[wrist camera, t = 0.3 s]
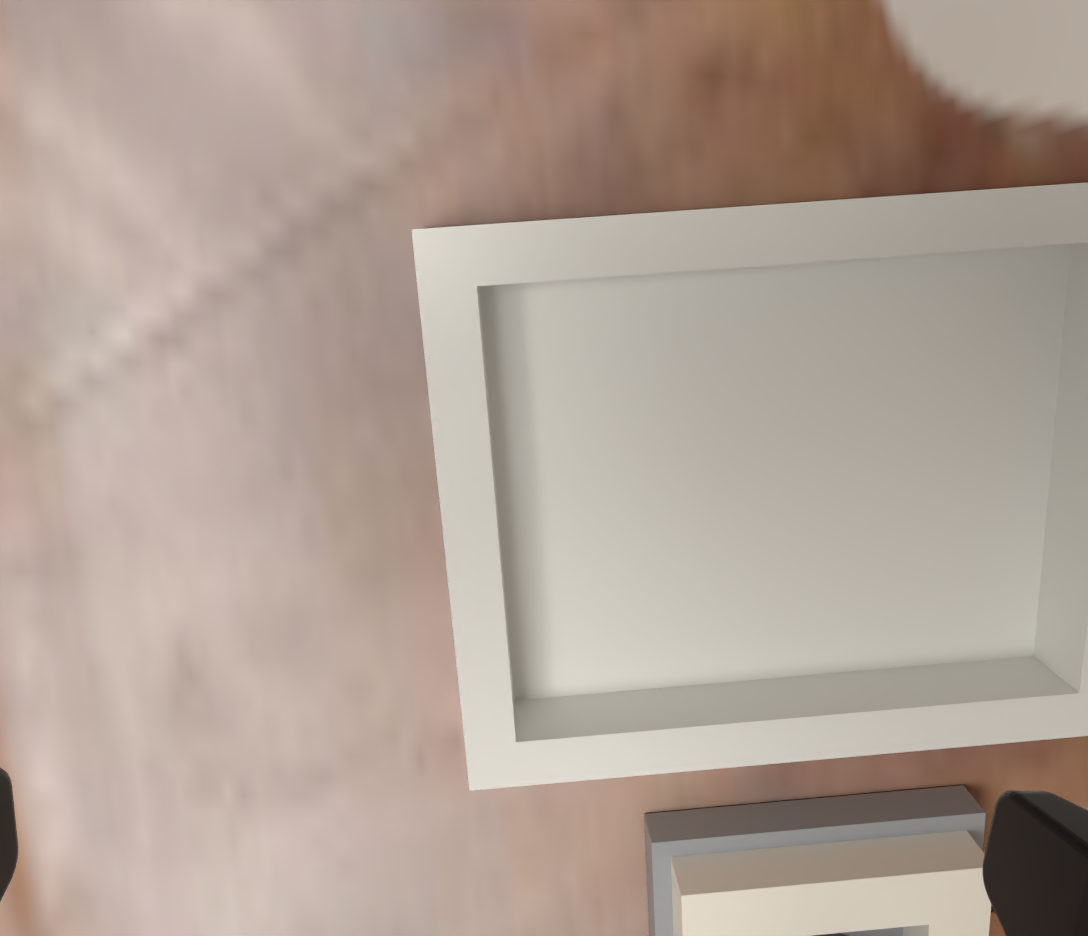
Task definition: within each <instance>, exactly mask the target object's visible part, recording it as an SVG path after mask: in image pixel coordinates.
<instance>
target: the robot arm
mask: <svg viewBox="0 0 1088 936" xmlns="http://www.w3.org/2000/svg"><path fill="white" fill-rule="evenodd" d="M17 858H18V840H17V830H16V820H15V811H14V801H13V791H12V784H11V780H10V777H9V775H8V773H7V772H6V771H4V770H3V769H2V768H0V901H1V899H2V897H3V895H4V893H5V891H6V889H7V887H8V885H9V883H10V881H11V879H12V876H13V874H14V871H15V868H16V863H17ZM983 882H984V886H985V890H986V893H987V895H988V898H989V900H990V902H991V904H992V907H993V909H994V911H995V913H996V915H997V918H998V920H999V922H1000V924H1001V926H1002V929H1003V931H1004V933H1005V935H1006V936H1088V810H1086V809H1084V808H1082V807H1080V806H1077V805H1075V804H1073V803H1071V802H1069V801H1067V800H1065V799H1063V798H1061V797H1059V796H1057V795H1055V794H1053V793H1050V792H1045V791H1019V790H1010V791H1006V792H1005V793H1003V794H1002V795H1000V797H999V798H998V800H997V802H996V805H995V809H994V813H993V818H992V823H991V827H990V832H989V837H988V841H987V846H986V851H985V855H984V860H983Z"/></svg>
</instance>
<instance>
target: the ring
mask: <svg viewBox="0 0 1088 936" xmlns="http://www.w3.org/2000/svg"><path fill="white" fill-rule="evenodd" d="M984 855H985V854H984V852H983V851H982V850H981V848H980V847H979V846H978V845H977V843H976V842H975V841H974V839H973V838H972V837H971V835H970V834H969V833H968V832H967V830H963V831H952V832H941V833H930V834H919V835H908V836H897V837H886V838H876V839H865V840H854V841H843V842H832V843H821V844H810V845H799V846H788V847H777V848H766V849H755V850H744V851H734V852H723V853H712V854H701V855H690V856H679V857H671V876H672V906H673V936H812V935H823V934H833V933H844V932H855V931H865V930H876V929H886V928H897V927H903V936H1006V935H1005V933H1004V931H1003V929H1002V926H1001V924H1000V922H999V920H998V918H997V915H996V913H991V902H990V900H989V898H988V895H987V893H986V890H985V886H984V882H983V860H984Z"/></svg>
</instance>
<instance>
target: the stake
mask: <svg viewBox="0 0 1088 936" xmlns="http://www.w3.org/2000/svg"><path fill="white" fill-rule="evenodd" d="M644 817H645V841H646V865H647V888H648V912H649V936H673V906H672V876H671V857H679V856H690V855H701V854H712V853H723V852H734V851H744V850H755V849H766V848H777V847H788V846H799V845H810V844H821V843H832V842H843V841H854V840H865V839H876V838H886V837H897V836H908V835H919V834H930V833H941V832H952V831H963V830H967V832H968V833H969V834H970V835H971V837H972V838H973V839H974V841H975V842H976V843H977V845H978V846H979V847H980V848H981V850H982V851H983V843H984V831H985V818H986V812H985V811H984V810H983V808H982V807H981V806H980V805H979V804H978V802H977V801H976V800H975V799H974V798H973V796H972V795H971V794H970V793H969V791H968V790H967V789H966V788H965V787H964V785H959V786H948V787H937V788H926V789H915V790H903V791H892V792H881V793H870V794H859V795H848V796H837V797H826V798H815V799H803V800H792V801H781V802H770V803H759V804H748V805H737V806H726V807H715V808H703V809H692V810H681V811H670V812H659V813H648V814H644ZM812 936H903V927H897V928H886V929H876V930H865V931H855V932H844V933H833V934H823V935H812Z"/></svg>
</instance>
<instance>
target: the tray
mask: <svg viewBox="0 0 1088 936" xmlns="http://www.w3.org/2000/svg"><path fill="white" fill-rule="evenodd" d="M412 239H413V249H414V258H415V268H416V278H417V287H418V297H419V307H420V316H421V326H422V335H423V345H424V355H425V364H426V374H427V384H428V393H429V403H430V413H431V422H432V432H433V441H434V451H435V461H436V470H437V480H438V490H439V499H440V509H441V519H442V528H443V538H444V548H445V557H446V567H447V576H448V586H449V596H450V605H451V615H452V625H453V634H454V644H455V654H456V663H457V673H458V682H459V692H460V702H461V711H462V721H463V731H464V740H465V750H466V760H467V769H468V779H469V789H470V791H471V790H482V789H494V788H505V787H516V786H528V785H539V784H550V783H561V782H573V781H584V780H595V779H607V778H618V777H629V776H640V775H652V774H663V773H674V772H685V771H697V770H708V769H719V768H731V767H742V766H753V765H764V764H776V763H787V762H798V761H810V760H821V759H832V758H843V757H855V756H866V755H877V754H889V753H900V752H911V751H922V750H934V749H945V748H956V747H967V746H979V745H990V744H1001V743H1013V742H1024V741H1035V740H1046V739H1058V738H1069V737H1080V736H1088V182H1085V183H1071V184H1057V185H1042V186H1028V187H1014V188H999V189H985V190H970V191H956V192H942V193H927V194H913V195H899V196H884V197H870V198H855V199H841V200H827V201H812V202H798V203H784V204H769V205H755V206H740V207H726V208H712V209H697V210H683V211H668V212H654V213H640V214H625V215H611V216H597V217H582V218H568V219H553V220H539V221H525V222H510V223H496V224H482V225H467V226H453V227H438V228H424V229H412Z"/></svg>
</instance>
